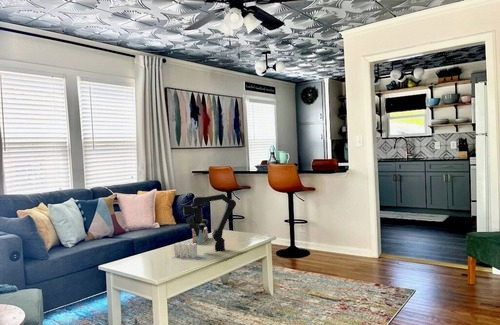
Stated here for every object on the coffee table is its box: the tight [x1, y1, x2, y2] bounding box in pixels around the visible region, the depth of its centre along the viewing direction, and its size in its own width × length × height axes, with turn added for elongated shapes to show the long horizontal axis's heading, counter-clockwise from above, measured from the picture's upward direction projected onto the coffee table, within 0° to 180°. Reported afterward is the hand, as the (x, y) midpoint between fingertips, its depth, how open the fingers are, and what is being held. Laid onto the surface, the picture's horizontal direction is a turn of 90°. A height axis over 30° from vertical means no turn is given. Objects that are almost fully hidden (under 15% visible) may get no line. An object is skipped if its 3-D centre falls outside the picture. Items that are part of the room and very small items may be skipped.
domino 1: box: [173, 242, 181, 257], centre depth 270 cm, size 2×5×9 cm, turn 158°
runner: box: [171, 254, 211, 261], centre depth 266 cm, size 26×10×1 cm, turn 68°
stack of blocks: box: [191, 226, 209, 245], centre depth 316 cm, size 21×6×12 cm, turn 169°
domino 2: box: [180, 242, 186, 257], centre depth 269 cm, size 2×5×9 cm, turn 158°
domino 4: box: [191, 243, 198, 258], centre depth 265 cm, size 2×5×9 cm, turn 159°
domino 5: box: [197, 230, 203, 245], centre depth 276 cm, size 2×5×9 cm, turn 158°
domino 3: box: [185, 242, 192, 258], centre depth 267 cm, size 2×5×9 cm, turn 159°
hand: (199, 235), depth 276 cm, fingers closed on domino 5, 5 cm apart
